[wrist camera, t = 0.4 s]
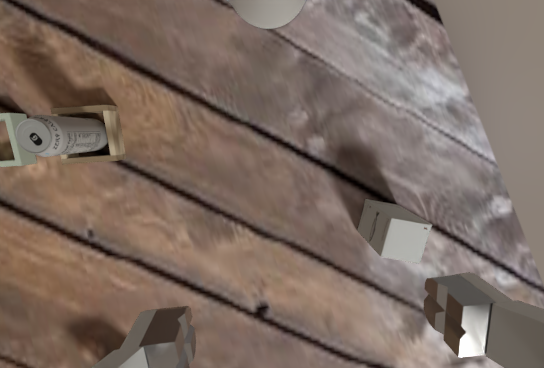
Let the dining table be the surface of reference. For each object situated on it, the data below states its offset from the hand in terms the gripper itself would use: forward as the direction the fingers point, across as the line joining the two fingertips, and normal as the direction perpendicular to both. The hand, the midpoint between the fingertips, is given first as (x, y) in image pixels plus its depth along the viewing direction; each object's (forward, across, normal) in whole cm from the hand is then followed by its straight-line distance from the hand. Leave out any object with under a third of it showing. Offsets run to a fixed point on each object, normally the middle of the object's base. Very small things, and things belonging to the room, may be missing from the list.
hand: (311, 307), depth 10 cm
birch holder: (+49, +32, -5) cm, 58 cm away
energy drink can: (+49, +32, -5) cm, 59 cm away
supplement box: (+46, -23, +17) cm, 54 cm away
